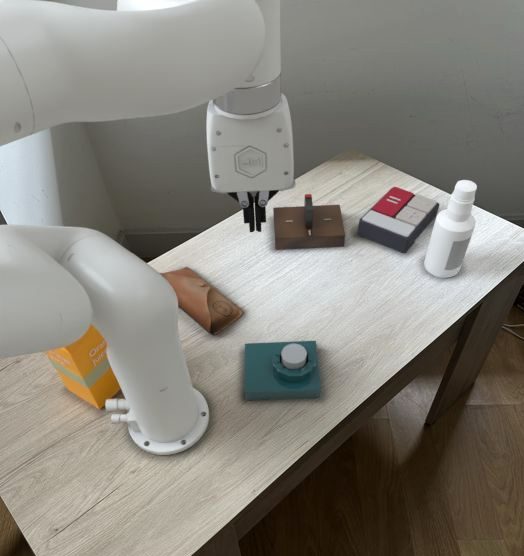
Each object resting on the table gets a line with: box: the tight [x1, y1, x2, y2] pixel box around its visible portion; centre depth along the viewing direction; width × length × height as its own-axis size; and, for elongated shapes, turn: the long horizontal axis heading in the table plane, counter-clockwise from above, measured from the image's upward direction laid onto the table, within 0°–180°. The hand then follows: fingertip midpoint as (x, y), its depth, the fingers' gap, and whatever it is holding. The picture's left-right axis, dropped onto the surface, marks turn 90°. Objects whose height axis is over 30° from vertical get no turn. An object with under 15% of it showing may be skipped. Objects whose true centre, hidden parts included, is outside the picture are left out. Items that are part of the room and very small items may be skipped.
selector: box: [272, 204, 346, 251], centre depth 107 cm, size 14×10×3 cm
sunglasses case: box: [159, 266, 244, 336], centre depth 96 cm, size 18×7×7 cm
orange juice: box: [44, 325, 122, 410], centre depth 79 cm, size 8×9×20 cm
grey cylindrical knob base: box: [244, 340, 322, 401], centre depth 85 cm, size 12×10×4 cm
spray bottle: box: [423, 179, 478, 279], centre depth 93 cm, size 7×7×18 cm
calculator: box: [356, 186, 440, 254], centre depth 107 cm, size 11×4×15 cm
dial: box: [303, 193, 314, 228], centre depth 104 cm, size 5×1×5 cm, turn 0°
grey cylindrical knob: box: [281, 344, 307, 370], centre depth 83 cm, size 4×4×2 cm
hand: (255, 225), depth 71 cm, fingers closed
